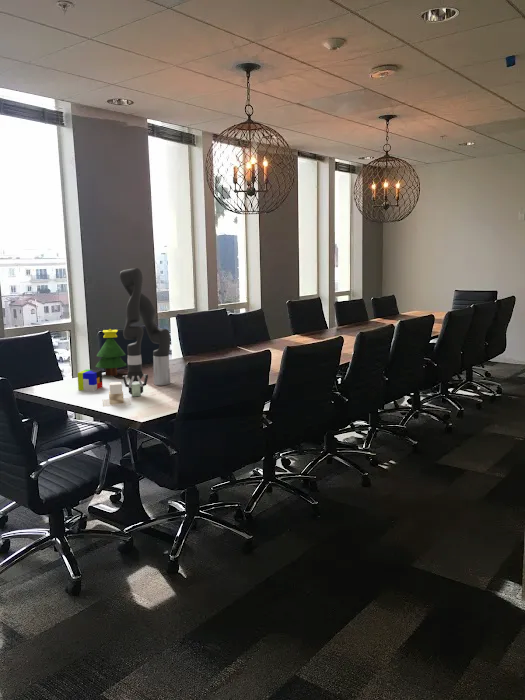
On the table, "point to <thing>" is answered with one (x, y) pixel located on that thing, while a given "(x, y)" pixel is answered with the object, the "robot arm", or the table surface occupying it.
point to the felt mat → (107, 403)
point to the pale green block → (136, 389)
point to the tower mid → (115, 388)
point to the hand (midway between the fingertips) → (136, 393)
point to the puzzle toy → (90, 380)
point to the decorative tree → (110, 354)
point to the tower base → (116, 398)
